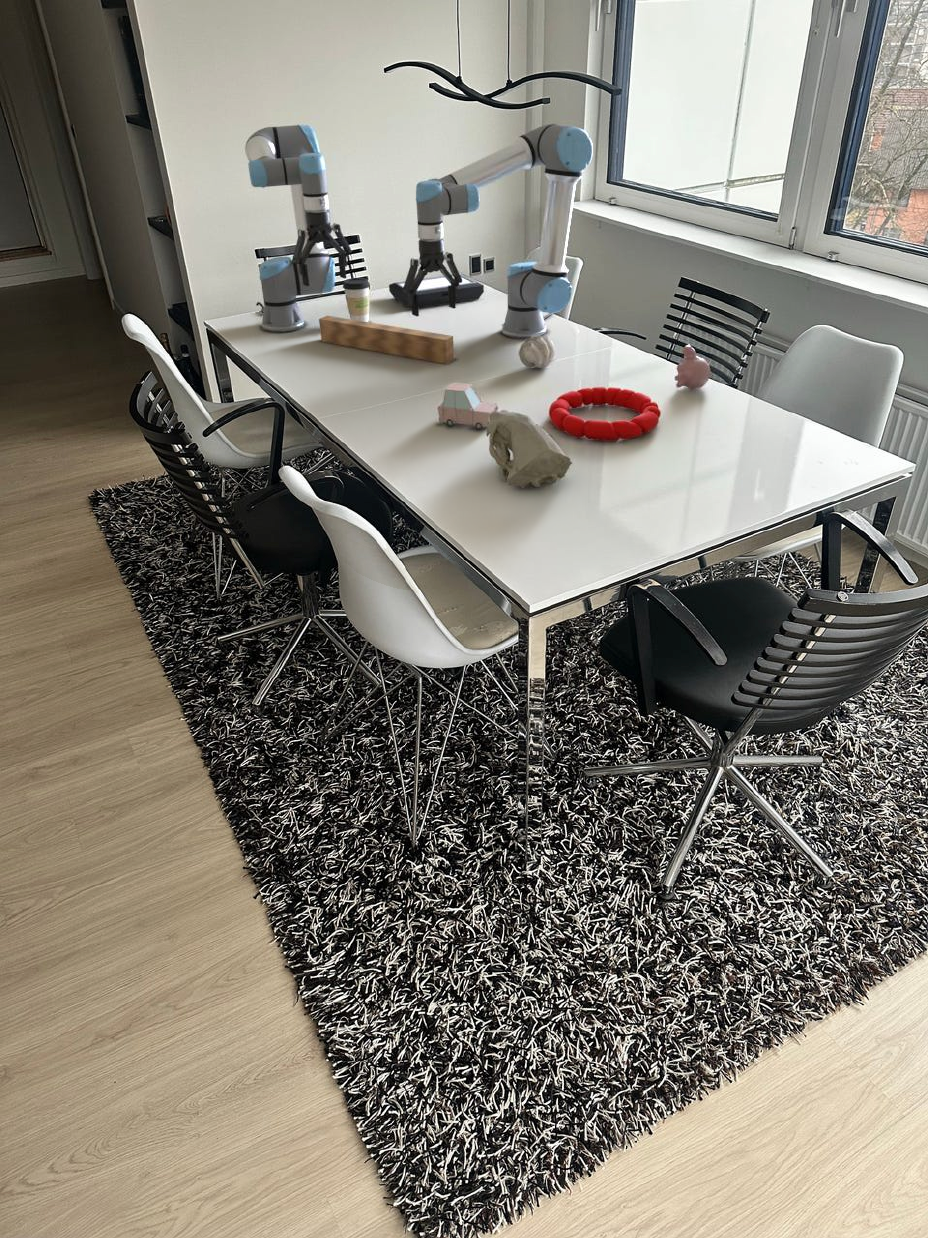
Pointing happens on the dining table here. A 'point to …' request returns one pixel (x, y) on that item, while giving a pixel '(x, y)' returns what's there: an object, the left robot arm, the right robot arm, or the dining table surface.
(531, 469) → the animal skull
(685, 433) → the dining table surface
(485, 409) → the toy car
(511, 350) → the dining table surface
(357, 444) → the dining table surface
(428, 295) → the electronic device
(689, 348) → the figurine
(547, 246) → the right robot arm
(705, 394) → the dining table surface
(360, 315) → the coffee cup
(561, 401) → the decorative ring
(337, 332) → the bar
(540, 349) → the seashell
